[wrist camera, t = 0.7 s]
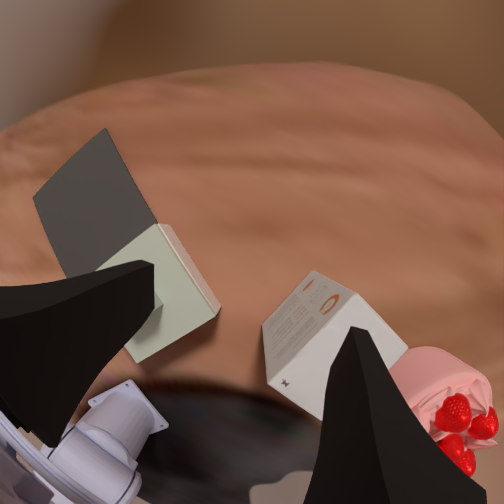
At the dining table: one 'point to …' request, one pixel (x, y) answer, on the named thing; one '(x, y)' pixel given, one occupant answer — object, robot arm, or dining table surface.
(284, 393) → the small box
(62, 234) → the mat
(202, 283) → the shallow white tray
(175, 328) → the lid
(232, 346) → the dining table surface
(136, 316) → the robot arm
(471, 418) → the cake
